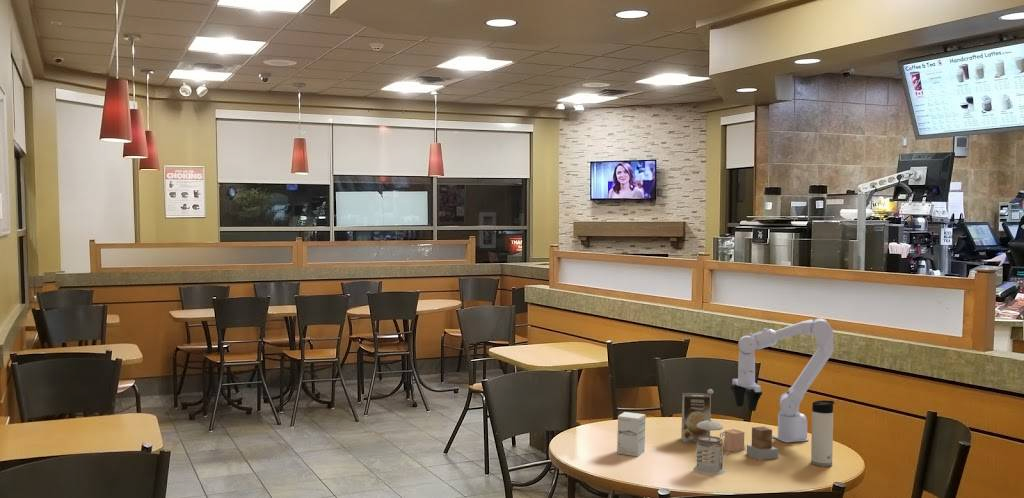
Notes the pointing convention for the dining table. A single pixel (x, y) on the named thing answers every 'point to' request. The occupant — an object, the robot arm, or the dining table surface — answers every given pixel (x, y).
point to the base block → (762, 452)
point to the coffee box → (694, 416)
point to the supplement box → (631, 434)
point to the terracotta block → (734, 440)
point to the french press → (710, 448)
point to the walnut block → (761, 437)
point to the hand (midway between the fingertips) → (746, 408)
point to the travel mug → (822, 433)
